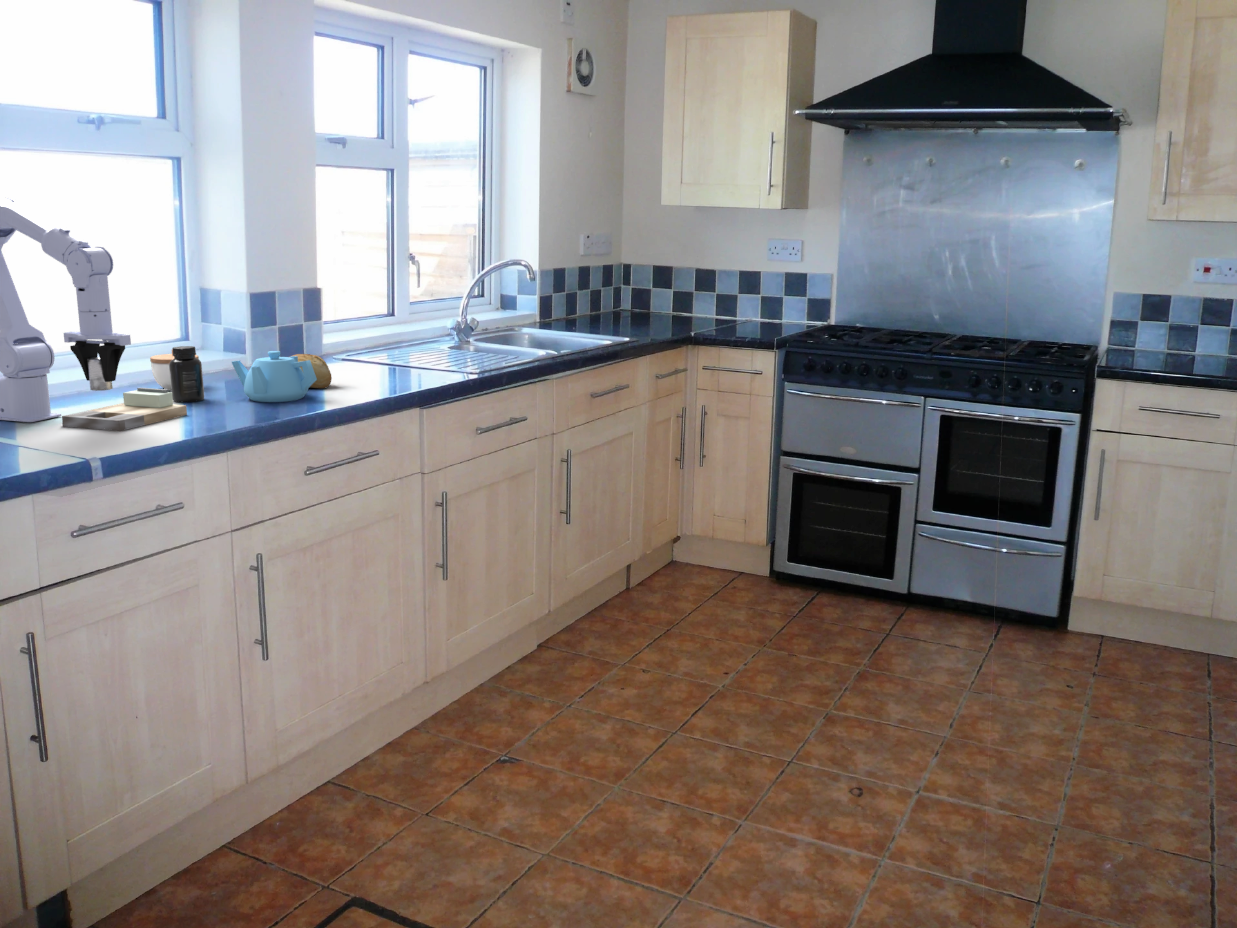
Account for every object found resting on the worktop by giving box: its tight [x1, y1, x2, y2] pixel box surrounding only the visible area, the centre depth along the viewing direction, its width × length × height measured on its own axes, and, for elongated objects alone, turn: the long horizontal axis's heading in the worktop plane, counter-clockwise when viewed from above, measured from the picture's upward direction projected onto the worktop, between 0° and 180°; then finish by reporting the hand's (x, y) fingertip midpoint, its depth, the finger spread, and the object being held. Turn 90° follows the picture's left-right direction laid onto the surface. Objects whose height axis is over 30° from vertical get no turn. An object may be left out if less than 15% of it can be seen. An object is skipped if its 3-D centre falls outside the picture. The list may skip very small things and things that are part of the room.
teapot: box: [231, 350, 317, 403], centre depth 254 cm, size 15×15×11 cm
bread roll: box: [289, 353, 333, 390], centre depth 271 cm, size 10×15×8 cm, turn 74°
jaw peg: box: [87, 356, 114, 392], centre depth 219 cm, size 4×4×6 cm
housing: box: [61, 402, 188, 432], centre depth 227 cm, size 14×19×2 cm
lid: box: [122, 387, 174, 408], centre depth 232 cm, size 9×4×3 cm, turn 71°
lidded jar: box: [149, 349, 200, 391], centre depth 266 cm, size 11×11×9 cm
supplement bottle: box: [169, 345, 205, 403], centre depth 250 cm, size 7×7×12 cm
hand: (101, 380), depth 220 cm, fingers closed on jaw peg, 4 cm apart
